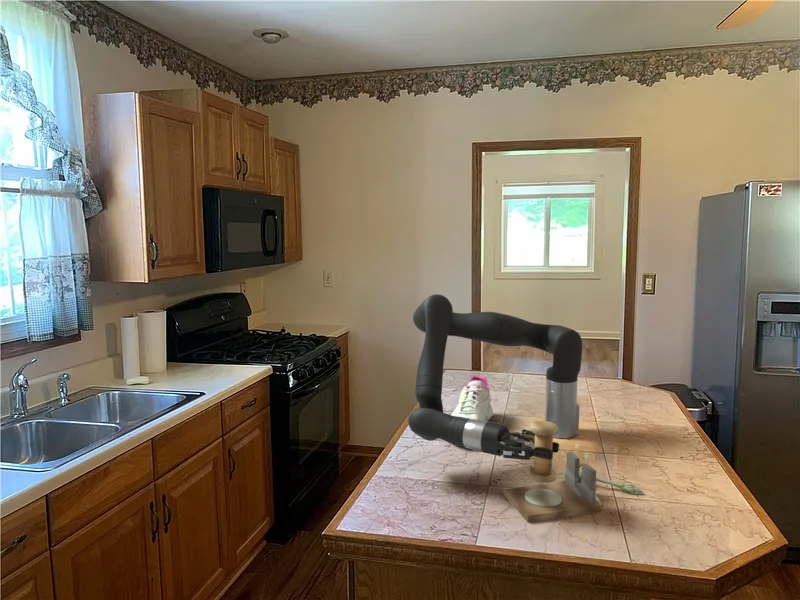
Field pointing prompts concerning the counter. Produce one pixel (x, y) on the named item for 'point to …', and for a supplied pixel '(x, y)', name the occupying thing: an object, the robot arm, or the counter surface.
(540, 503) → the board
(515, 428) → the counter surface
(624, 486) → the plant
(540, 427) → the bobbin
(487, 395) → the golf shoe
